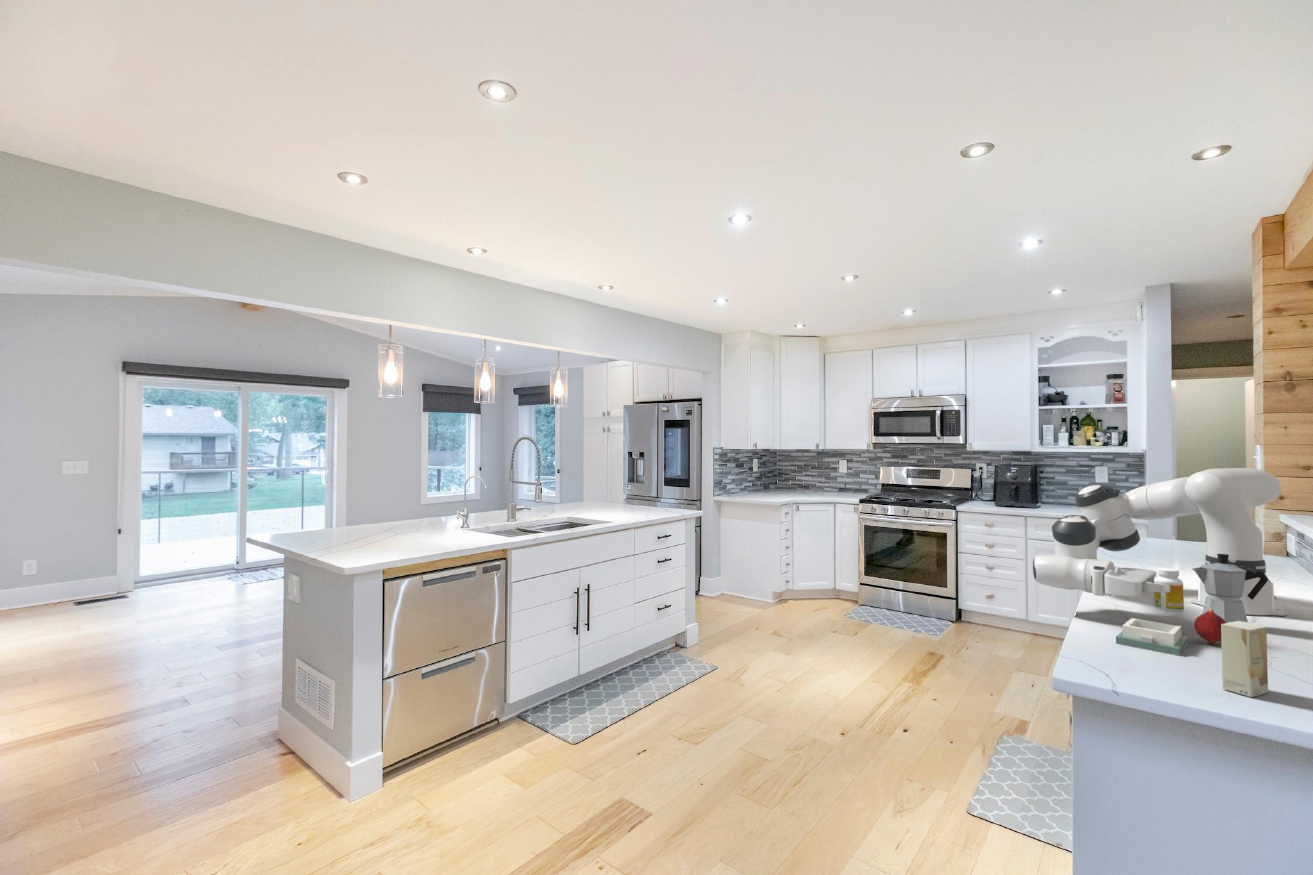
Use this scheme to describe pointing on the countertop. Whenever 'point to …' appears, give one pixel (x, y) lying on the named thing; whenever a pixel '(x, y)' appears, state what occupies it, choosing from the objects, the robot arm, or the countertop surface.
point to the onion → (1209, 626)
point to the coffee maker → (1228, 588)
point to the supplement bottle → (1175, 596)
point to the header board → (1153, 636)
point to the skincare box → (1244, 658)
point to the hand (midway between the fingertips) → (1173, 586)
